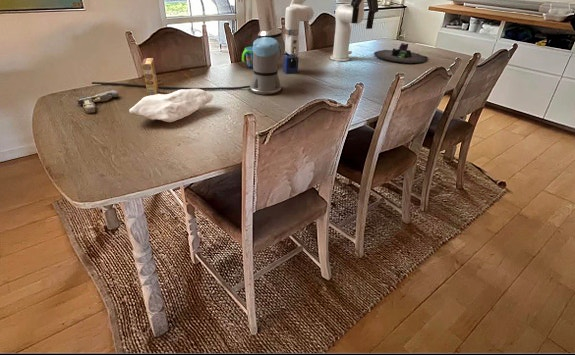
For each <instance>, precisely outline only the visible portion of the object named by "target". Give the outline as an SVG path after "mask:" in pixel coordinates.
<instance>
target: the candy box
mask: <svg viewBox="0 0 575 355" xmlns="http://www.w3.org/2000/svg"><path fill="white" fill-rule="evenodd" d="M141 66H142V73H143V78H144V82H145V85H146V87H145V88H146V92H147V96H150V95H156V94H159V91H160V90H159V88H158V86H159V84H158V79H157V73H156V66H155V62H154V58H153V57H151V58H150V57H149V58H146V57H145V58H143V60H142V63H141Z"/></svg>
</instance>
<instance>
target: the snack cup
mask: <svg viewBox="0 0 575 355" xmlns="http://www.w3.org/2000/svg"><path fill="white" fill-rule="evenodd" d="M245 58H246V59H245ZM241 62H242V63H245V62H246V65H247V67H248V68H252V69H253V45H252V46H246V47H245V48H244V50H243V52H242V53H241Z"/></svg>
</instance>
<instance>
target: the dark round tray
mask: <svg viewBox="0 0 575 355" xmlns="http://www.w3.org/2000/svg"><path fill="white" fill-rule="evenodd" d="M408 48H409V43H404V42H401V43H400V45H399V47H398V48H392V49H382V50H377V51H375V52H373V55H374V56H375V57H377V58H379V59H383V60H386V61H391V62H397V63H407V64H415V63H416V64H417V63H424V62H426V61H428V56H426V55H422V54H419V53H416V52H412V51H411V50H410V49H408Z"/></svg>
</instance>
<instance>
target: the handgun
mask: <svg viewBox="0 0 575 355" xmlns="http://www.w3.org/2000/svg"><path fill="white" fill-rule="evenodd" d="M119 96H120V94H119V92H118V91H117V90H116V89H112V90H108V91H105V92H104V91H103V92H101V93H96V94H94V95H86V94H85V95H84V94H83V95H81V96H80V97H77V98H76V101H77V104H78V105H82V108H83V109H84V110H85V113H87V114H91V113H95V112H96V104H95V103H98V102H106V101H109V100H111V99H113V98H117V97H119Z"/></svg>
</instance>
